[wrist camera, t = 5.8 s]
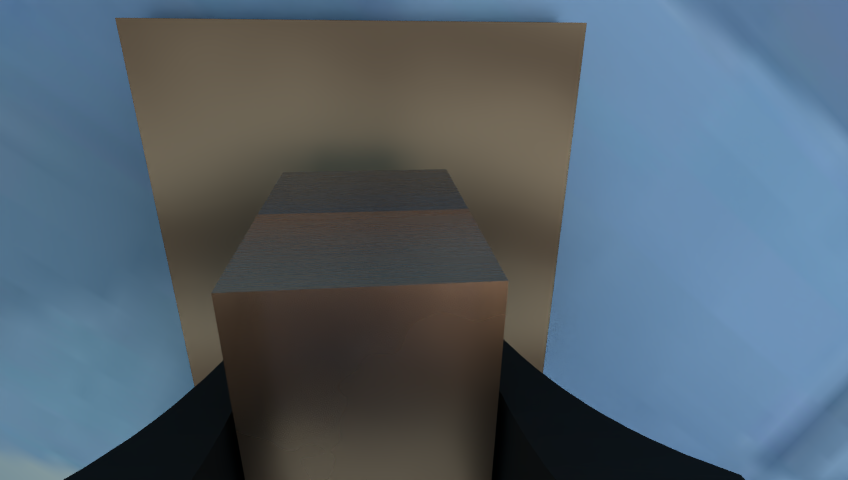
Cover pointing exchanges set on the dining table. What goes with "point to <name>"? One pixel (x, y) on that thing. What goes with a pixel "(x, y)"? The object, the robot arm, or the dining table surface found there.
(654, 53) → the dining table surface
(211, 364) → the walnut stand
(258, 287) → the brown rectangular block
